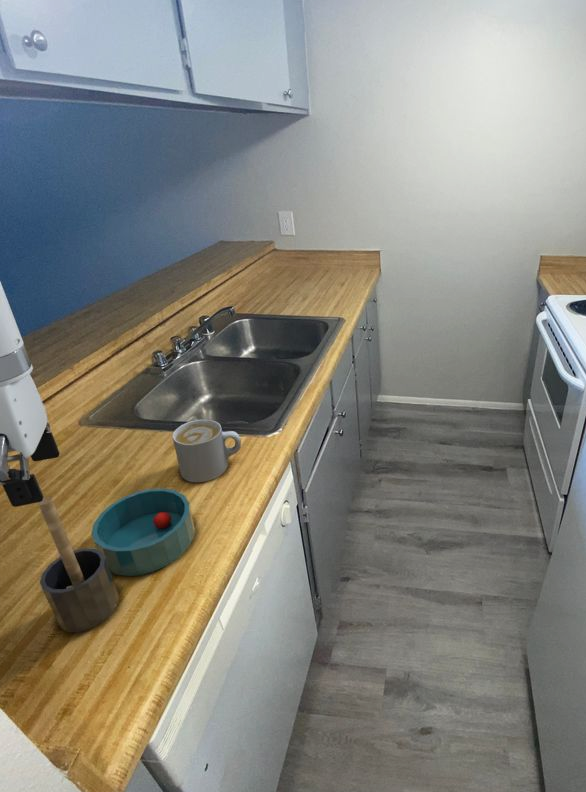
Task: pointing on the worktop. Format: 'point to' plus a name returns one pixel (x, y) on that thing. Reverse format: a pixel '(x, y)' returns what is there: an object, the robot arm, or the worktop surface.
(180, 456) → the coffee mug
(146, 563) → the bowl
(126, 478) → the worktop surface
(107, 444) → the worktop surface
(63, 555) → the paddle
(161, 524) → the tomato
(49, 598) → the crock
